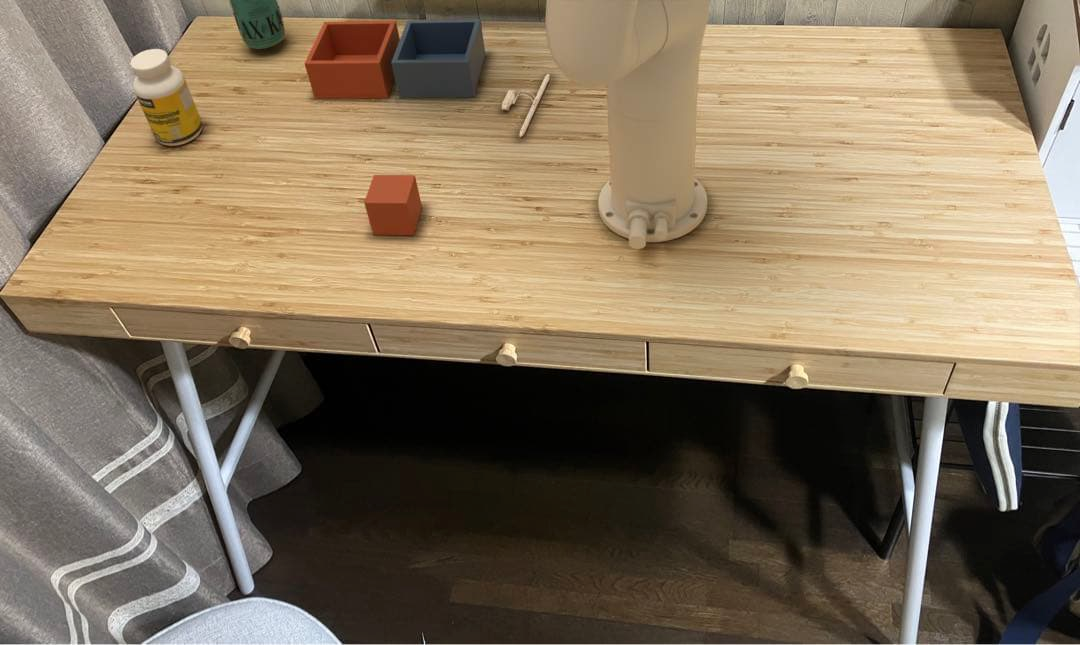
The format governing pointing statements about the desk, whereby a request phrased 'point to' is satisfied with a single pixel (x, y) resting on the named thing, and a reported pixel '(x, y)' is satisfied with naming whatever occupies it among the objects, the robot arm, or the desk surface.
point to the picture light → (512, 99)
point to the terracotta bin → (353, 59)
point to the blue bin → (439, 59)
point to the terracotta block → (393, 204)
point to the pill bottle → (165, 98)
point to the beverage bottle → (259, 22)
